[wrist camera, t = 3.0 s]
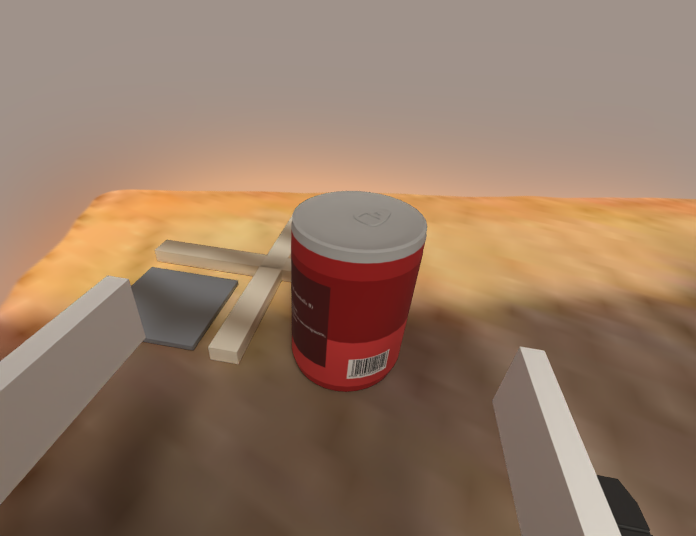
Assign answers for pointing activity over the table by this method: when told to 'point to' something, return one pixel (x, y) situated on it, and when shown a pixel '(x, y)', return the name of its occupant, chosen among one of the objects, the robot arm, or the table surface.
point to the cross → (209, 295)
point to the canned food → (352, 285)
